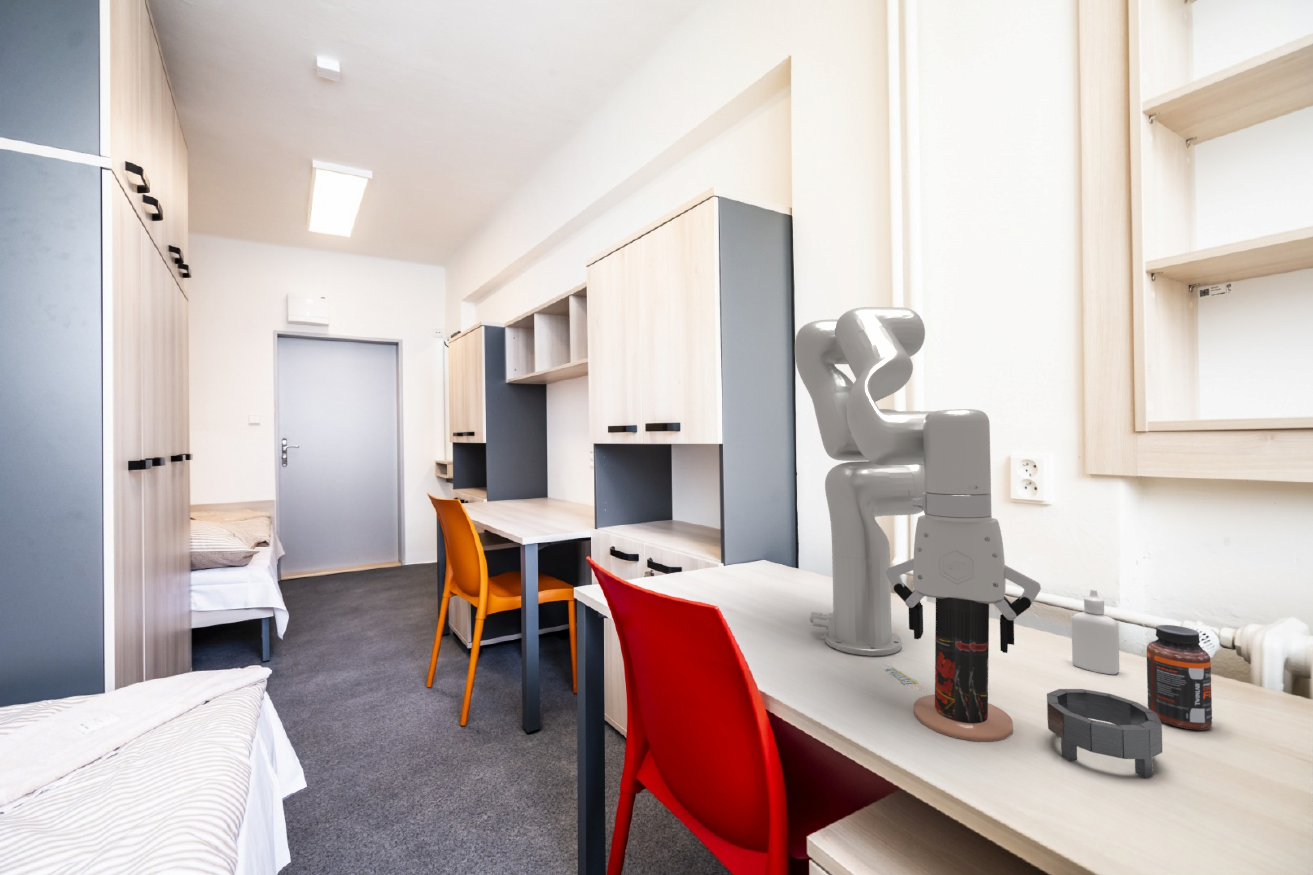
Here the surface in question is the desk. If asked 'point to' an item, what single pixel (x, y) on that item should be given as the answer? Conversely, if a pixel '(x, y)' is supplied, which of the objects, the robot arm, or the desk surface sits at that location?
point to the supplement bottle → (1179, 678)
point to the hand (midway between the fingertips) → (960, 642)
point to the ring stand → (1105, 726)
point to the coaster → (989, 730)
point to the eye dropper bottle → (1095, 638)
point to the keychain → (905, 679)
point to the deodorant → (961, 659)
